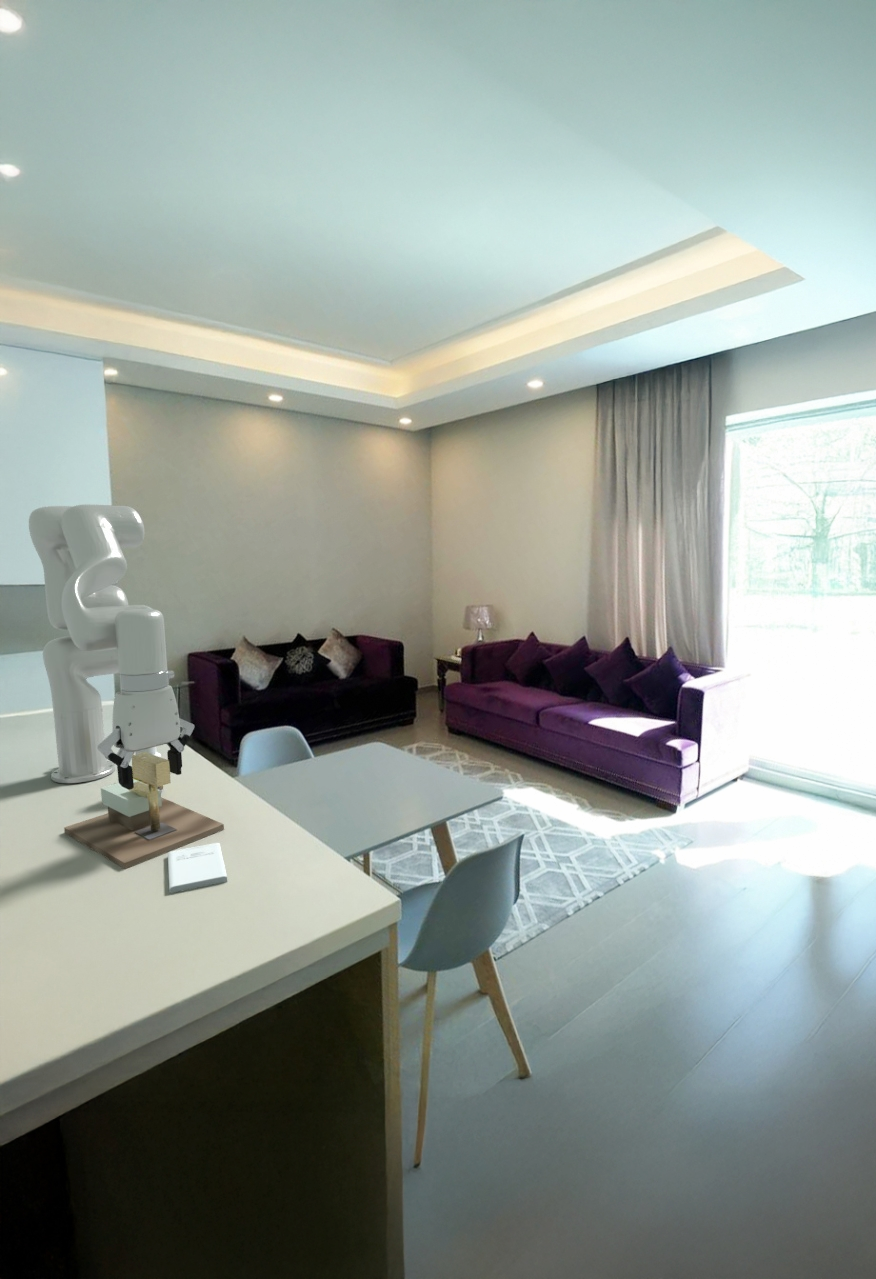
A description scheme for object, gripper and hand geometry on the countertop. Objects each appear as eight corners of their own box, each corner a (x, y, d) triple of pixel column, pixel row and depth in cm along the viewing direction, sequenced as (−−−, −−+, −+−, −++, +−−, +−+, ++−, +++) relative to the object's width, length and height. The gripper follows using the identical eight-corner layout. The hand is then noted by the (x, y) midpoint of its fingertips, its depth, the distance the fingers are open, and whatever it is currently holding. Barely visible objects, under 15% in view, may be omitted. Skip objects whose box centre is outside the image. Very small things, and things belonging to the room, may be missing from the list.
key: (129, 820, 116) (123, 752, 114) (141, 816, 118) (136, 748, 116) (161, 836, 110) (155, 764, 108) (174, 831, 112) (169, 760, 110)
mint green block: (102, 803, 118) (100, 787, 118) (134, 793, 123) (132, 778, 122) (129, 816, 112) (127, 800, 112) (161, 805, 117) (160, 790, 116)
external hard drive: (169, 897, 95) (168, 860, 106) (227, 885, 98) (220, 850, 109) (169, 887, 94) (167, 850, 106) (227, 875, 98) (219, 841, 109)
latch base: (64, 832, 115) (62, 811, 115) (159, 801, 129) (158, 782, 129) (125, 869, 102) (123, 845, 101) (223, 829, 116) (222, 808, 115)
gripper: (179, 671, 118) (185, 762, 121) (81, 688, 105) (90, 790, 107) (202, 676, 114) (208, 770, 116) (102, 694, 100) (111, 800, 103)
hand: (151, 779), depth 112 cm, fingers open, 8 cm apart
